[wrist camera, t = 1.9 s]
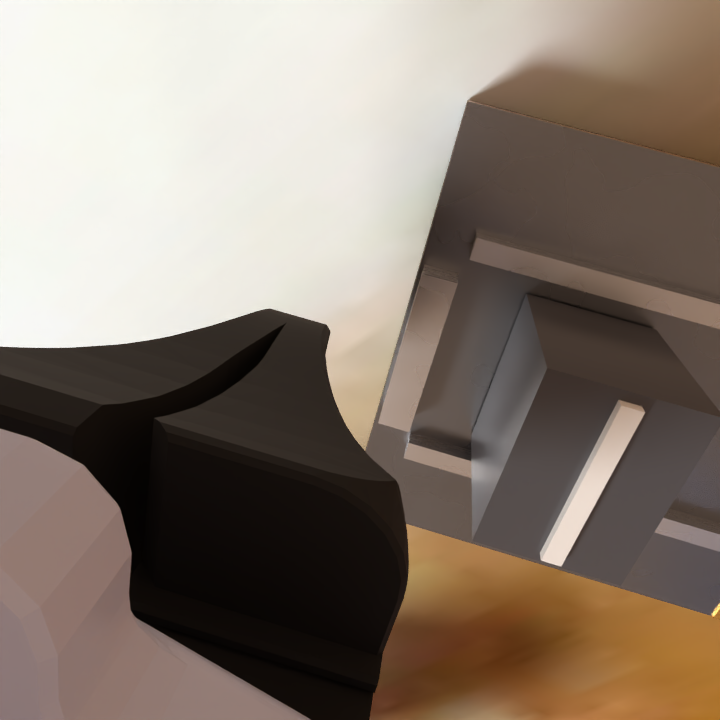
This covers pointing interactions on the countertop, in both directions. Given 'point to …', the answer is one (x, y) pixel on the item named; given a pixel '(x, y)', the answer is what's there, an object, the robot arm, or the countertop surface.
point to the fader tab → (584, 440)
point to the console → (563, 285)
